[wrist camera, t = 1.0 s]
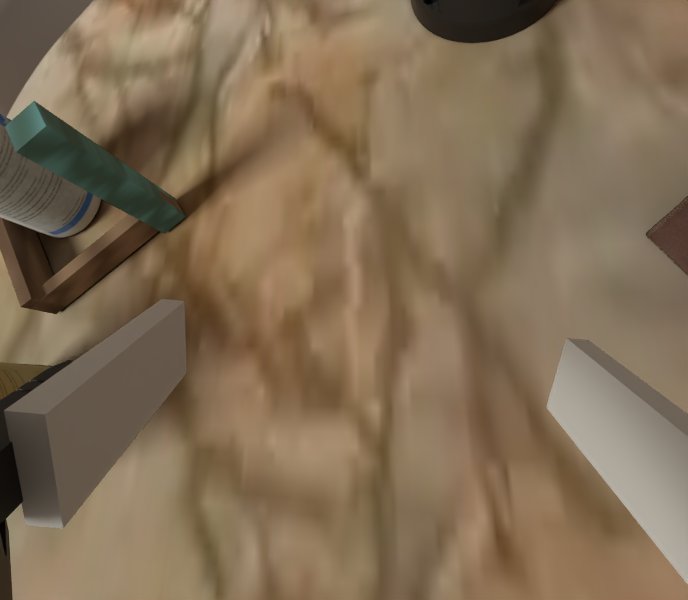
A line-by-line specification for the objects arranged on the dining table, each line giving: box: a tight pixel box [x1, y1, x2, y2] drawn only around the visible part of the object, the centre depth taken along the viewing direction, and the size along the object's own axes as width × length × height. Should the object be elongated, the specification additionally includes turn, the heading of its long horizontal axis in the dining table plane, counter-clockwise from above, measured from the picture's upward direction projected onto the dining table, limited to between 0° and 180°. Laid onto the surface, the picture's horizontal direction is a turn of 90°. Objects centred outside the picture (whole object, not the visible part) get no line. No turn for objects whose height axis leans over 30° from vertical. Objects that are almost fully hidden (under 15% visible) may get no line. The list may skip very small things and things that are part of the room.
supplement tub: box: [0, 114, 101, 238], centre depth 43 cm, size 10×10×15 cm
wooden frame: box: [0, 101, 185, 314], centre depth 41 cm, size 19×19×16 cm
